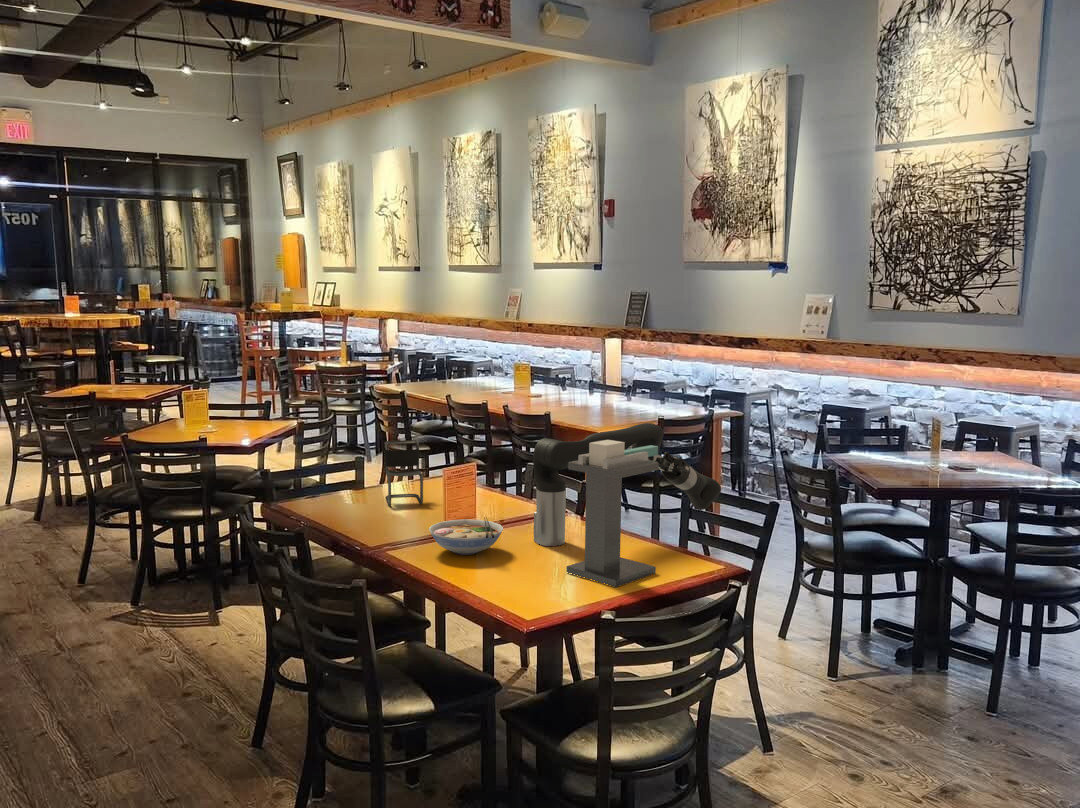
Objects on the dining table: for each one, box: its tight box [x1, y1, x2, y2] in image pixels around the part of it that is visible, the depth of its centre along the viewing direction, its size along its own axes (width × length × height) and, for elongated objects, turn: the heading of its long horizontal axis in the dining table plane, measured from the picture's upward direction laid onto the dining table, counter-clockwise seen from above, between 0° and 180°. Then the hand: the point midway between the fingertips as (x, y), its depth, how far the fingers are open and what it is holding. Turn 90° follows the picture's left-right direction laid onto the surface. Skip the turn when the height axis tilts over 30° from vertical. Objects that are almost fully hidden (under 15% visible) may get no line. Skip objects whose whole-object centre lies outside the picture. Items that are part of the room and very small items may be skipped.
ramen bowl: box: [428, 516, 504, 556], centre depth 280 cm, size 25×23×8 cm
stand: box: [566, 452, 660, 588], centre depth 259 cm, size 18×18×34 cm
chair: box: [384, 439, 424, 507], centre depth 346 cm, size 13×17×22 cm
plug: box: [589, 440, 659, 467], centre depth 261 cm, size 6×26×6 cm, turn 136°
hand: (653, 453), depth 270 cm, fingers open, 8 cm apart
